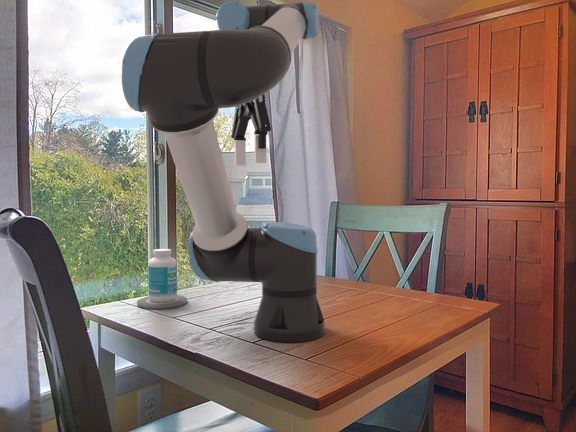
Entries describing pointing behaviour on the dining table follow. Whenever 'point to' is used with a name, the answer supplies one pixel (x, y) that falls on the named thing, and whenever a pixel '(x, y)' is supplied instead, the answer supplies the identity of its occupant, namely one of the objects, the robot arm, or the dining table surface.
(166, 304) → the coaster
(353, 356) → the dining table surface
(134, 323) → the dining table surface
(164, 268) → the pill bottle
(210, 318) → the dining table surface
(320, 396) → the dining table surface
